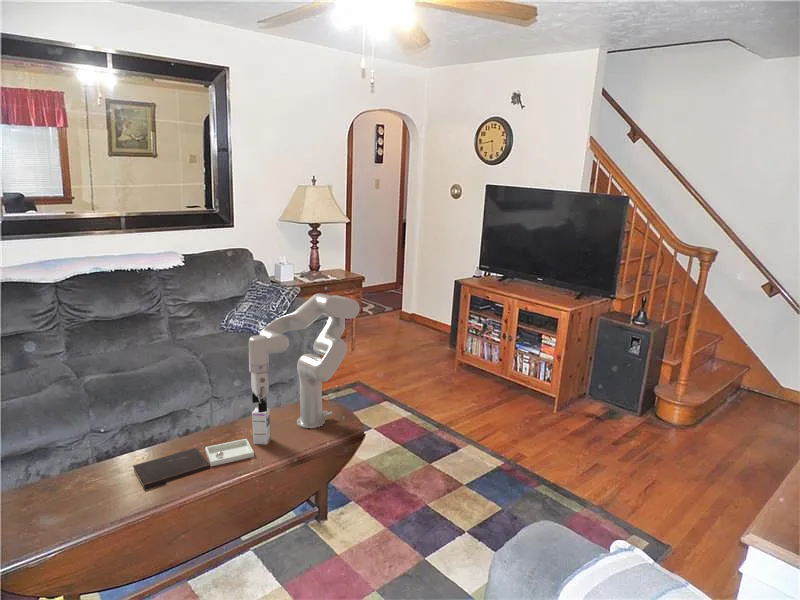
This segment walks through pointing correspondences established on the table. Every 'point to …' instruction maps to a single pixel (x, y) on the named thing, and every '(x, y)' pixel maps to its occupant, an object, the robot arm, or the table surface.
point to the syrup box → (261, 426)
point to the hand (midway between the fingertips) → (259, 406)
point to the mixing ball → (219, 455)
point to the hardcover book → (170, 467)
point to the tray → (229, 452)
